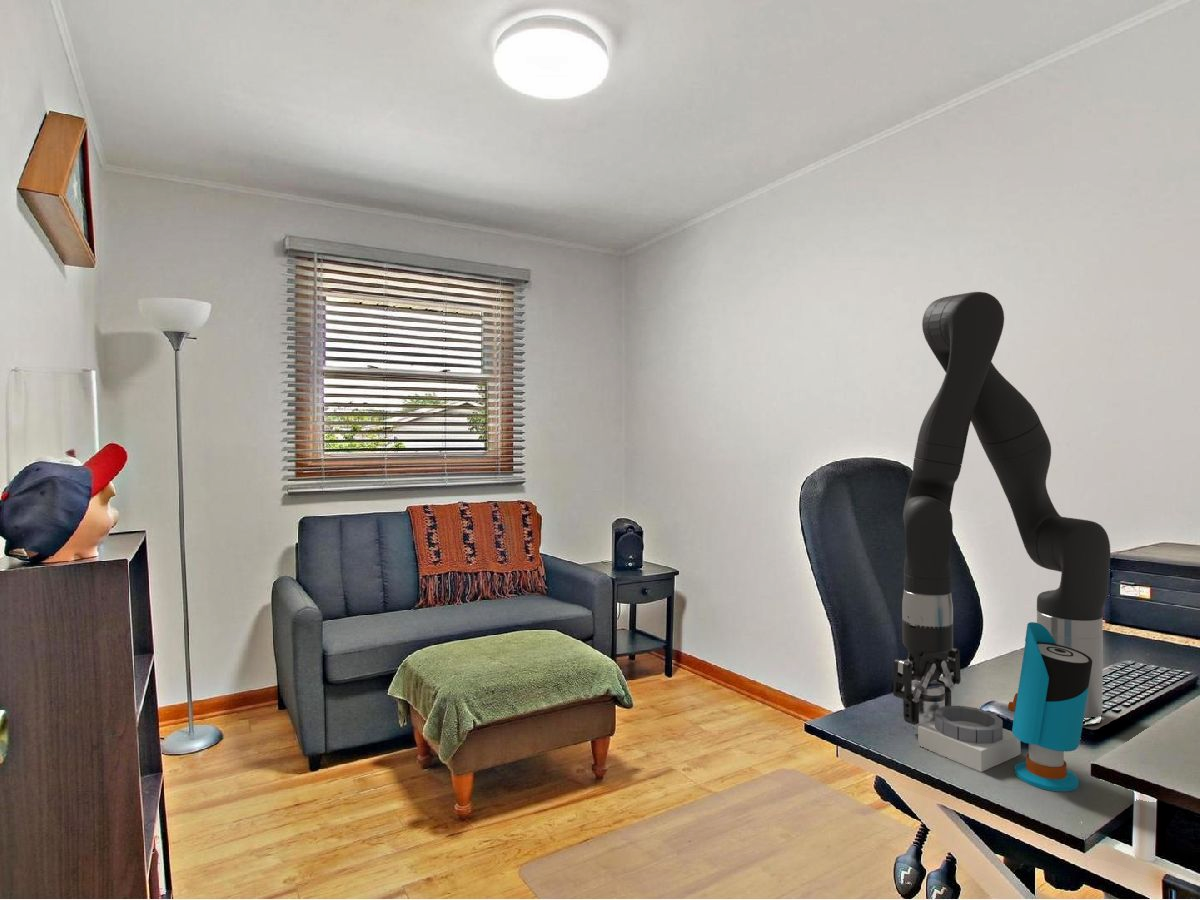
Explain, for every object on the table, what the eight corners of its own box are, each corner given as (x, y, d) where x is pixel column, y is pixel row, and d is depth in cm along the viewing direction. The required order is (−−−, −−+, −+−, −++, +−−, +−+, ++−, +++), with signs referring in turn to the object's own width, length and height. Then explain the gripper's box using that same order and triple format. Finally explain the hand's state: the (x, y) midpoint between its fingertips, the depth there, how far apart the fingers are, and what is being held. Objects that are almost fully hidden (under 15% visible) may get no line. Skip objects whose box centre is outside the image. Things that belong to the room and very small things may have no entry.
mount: (957, 730, 115) (957, 699, 115) (1020, 754, 106) (1020, 721, 106) (918, 745, 110) (917, 713, 110) (981, 771, 101) (981, 737, 101)
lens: (923, 717, 120) (923, 675, 120) (951, 728, 116) (951, 684, 115) (904, 724, 117) (903, 681, 117) (932, 736, 113) (932, 691, 113)
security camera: (1089, 640, 92) (1001, 627, 98) (1088, 802, 93) (1001, 779, 99) (1095, 625, 98) (1012, 614, 105) (1095, 777, 99) (1013, 757, 105)
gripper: (933, 607, 123) (933, 700, 123) (878, 620, 116) (879, 719, 116) (975, 616, 116) (975, 715, 117) (920, 630, 109) (921, 735, 110)
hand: (927, 717), depth 117 cm, fingers open, 8 cm apart
